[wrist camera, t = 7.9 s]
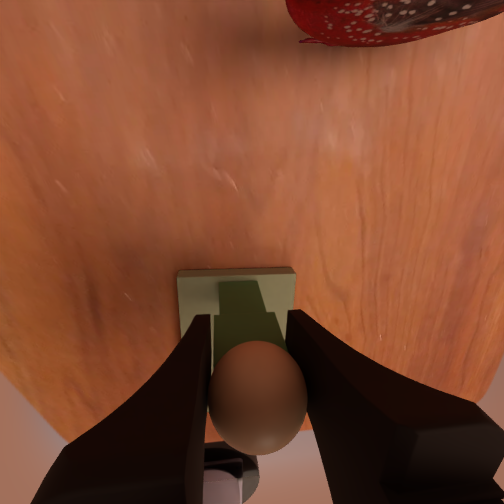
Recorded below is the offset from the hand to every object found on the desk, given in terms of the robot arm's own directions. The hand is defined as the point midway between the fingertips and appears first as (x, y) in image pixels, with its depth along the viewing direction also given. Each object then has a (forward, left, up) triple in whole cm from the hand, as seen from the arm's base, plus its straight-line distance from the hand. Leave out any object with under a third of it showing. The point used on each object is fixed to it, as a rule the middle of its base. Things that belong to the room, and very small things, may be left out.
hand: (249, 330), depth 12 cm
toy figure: (-2, 0, -1) cm, 3 cm away
